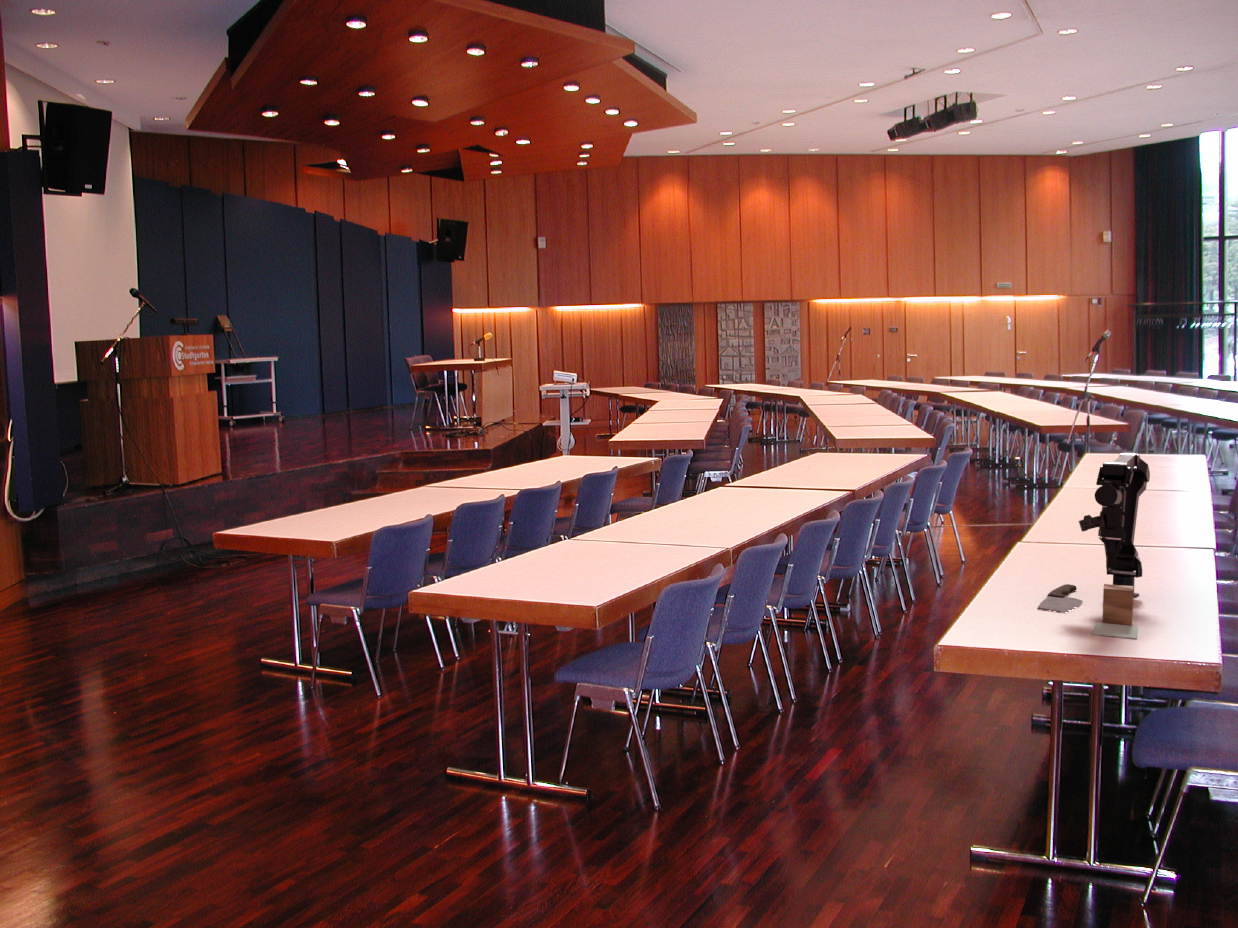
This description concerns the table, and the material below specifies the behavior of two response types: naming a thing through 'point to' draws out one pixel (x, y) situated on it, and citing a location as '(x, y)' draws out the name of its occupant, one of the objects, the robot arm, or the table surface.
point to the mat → (1116, 630)
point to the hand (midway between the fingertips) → (1109, 563)
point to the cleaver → (1060, 600)
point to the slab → (1117, 604)
